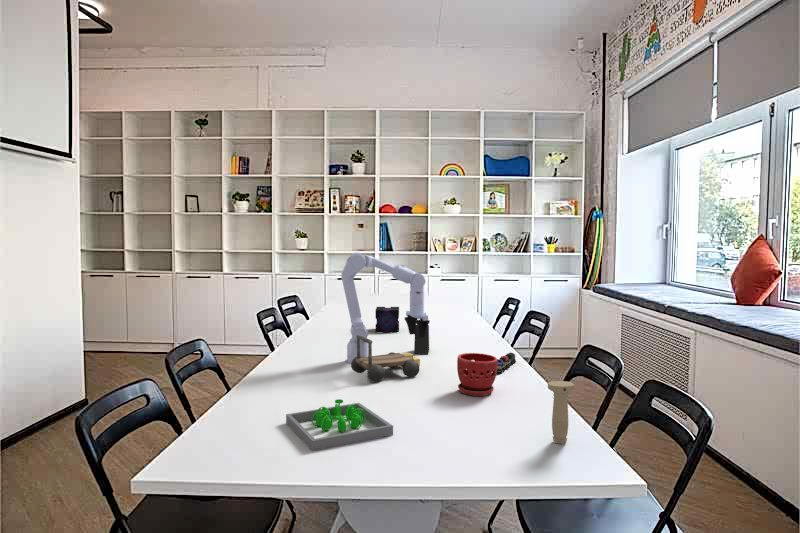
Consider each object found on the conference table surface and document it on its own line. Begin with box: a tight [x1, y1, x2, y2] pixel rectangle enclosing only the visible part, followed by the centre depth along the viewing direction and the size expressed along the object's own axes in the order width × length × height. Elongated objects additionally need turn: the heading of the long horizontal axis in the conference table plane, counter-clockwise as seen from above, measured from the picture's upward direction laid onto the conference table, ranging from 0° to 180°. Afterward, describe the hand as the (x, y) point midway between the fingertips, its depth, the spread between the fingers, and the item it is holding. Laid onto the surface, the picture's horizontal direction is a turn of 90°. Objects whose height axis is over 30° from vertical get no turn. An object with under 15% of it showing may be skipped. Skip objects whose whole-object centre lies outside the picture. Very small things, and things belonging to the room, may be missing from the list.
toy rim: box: [285, 402, 394, 452], centre depth 150 cm, size 22×22×2 cm
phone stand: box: [413, 324, 430, 356], centre depth 243 cm, size 9×6×12 cm, turn 173°
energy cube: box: [375, 306, 400, 333], centre depth 294 cm, size 12×12×12 cm
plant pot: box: [456, 352, 498, 397], centre depth 183 cm, size 13×13×12 cm
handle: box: [547, 380, 575, 445], centre depth 140 cm, size 5×6×15 cm
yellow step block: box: [398, 352, 421, 368], centre depth 219 cm, size 4×7×5 cm, turn 118°
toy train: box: [496, 352, 517, 375], centre depth 216 cm, size 4×22×5 cm, turn 153°
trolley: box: [350, 335, 420, 383], centre depth 205 cm, size 16×20×15 cm
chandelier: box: [311, 399, 367, 434], centre depth 153 cm, size 15×15×7 cm
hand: (416, 335), depth 226 cm, fingers open, 7 cm apart
